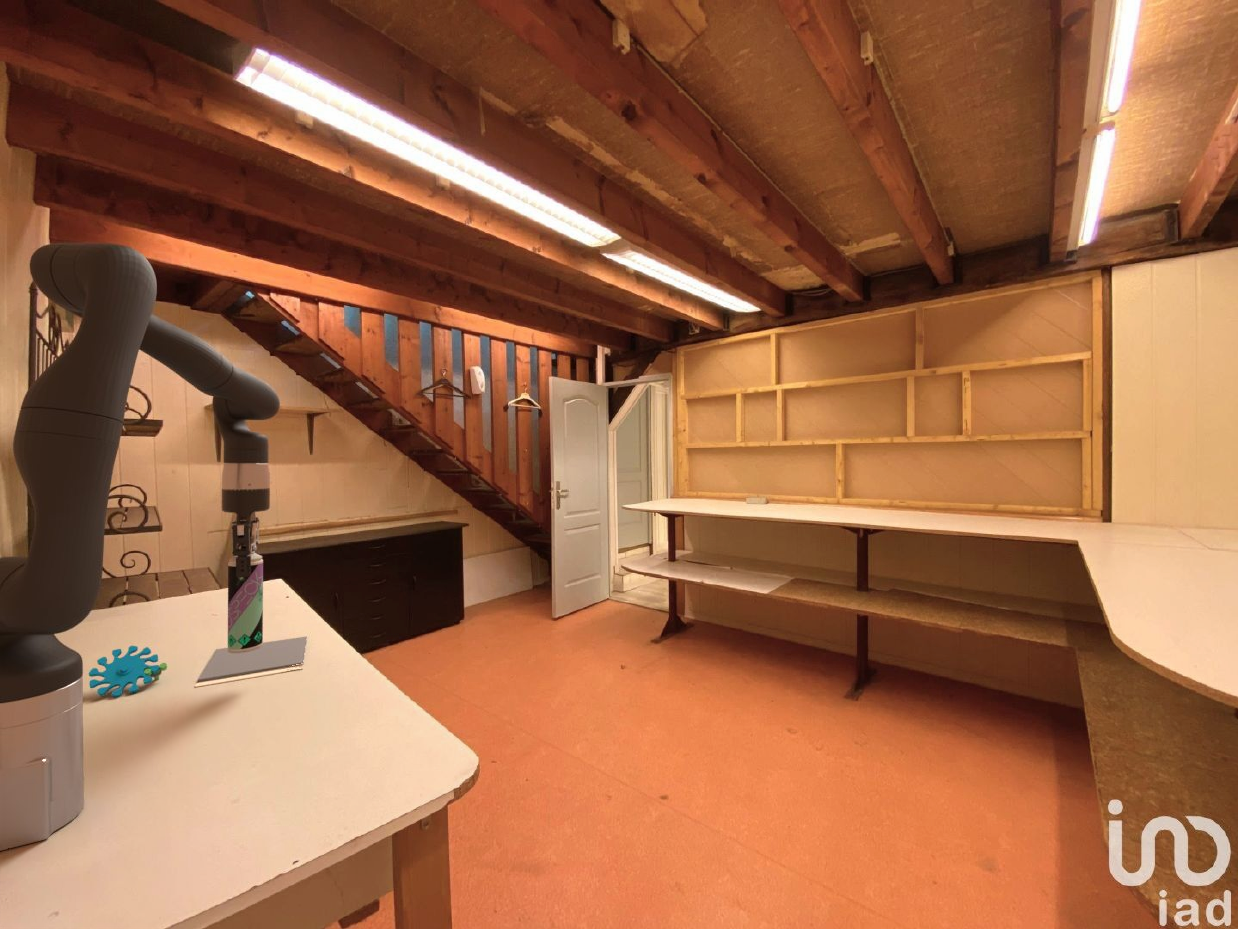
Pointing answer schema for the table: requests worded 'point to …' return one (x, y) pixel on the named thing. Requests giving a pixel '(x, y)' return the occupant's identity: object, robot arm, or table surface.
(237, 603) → the spray can
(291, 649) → the gray flat panel
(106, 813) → the table surface
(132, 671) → the gear
